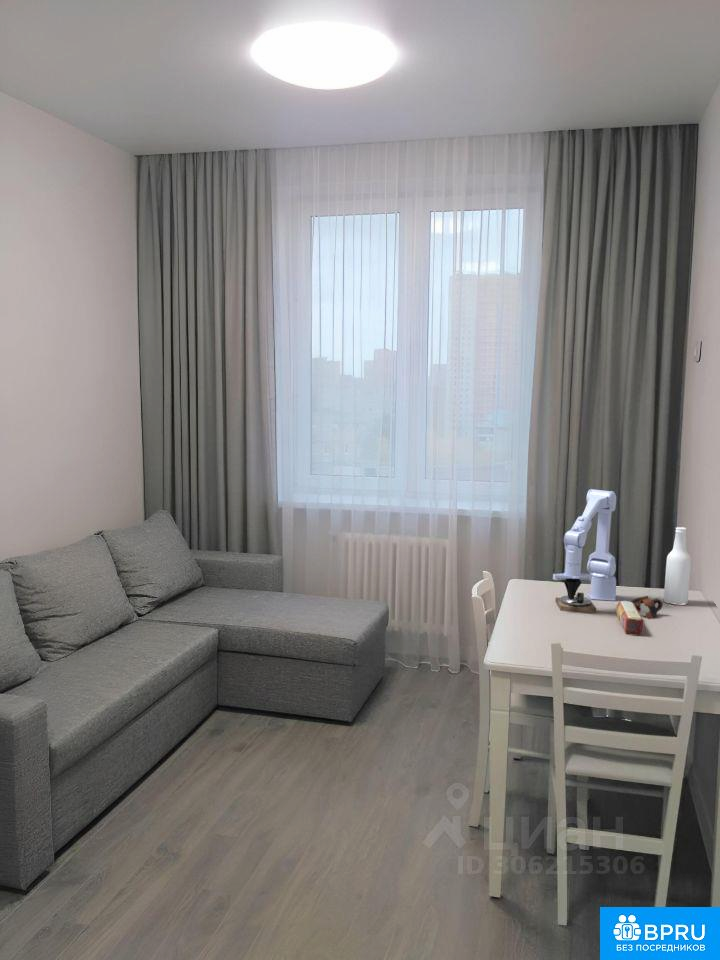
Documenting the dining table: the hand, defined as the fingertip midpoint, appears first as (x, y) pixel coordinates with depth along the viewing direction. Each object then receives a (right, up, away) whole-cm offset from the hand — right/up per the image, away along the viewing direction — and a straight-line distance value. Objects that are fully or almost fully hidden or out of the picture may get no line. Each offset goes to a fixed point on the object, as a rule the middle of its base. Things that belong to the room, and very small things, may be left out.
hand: (571, 598), depth 288 cm
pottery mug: (+27, -6, -3) cm, 28 cm away
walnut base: (+3, -4, +6) cm, 8 cm away
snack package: (+16, -7, -18) cm, 25 cm away
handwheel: (+3, -2, +5) cm, 7 cm away
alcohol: (+46, -4, +16) cm, 49 cm away
